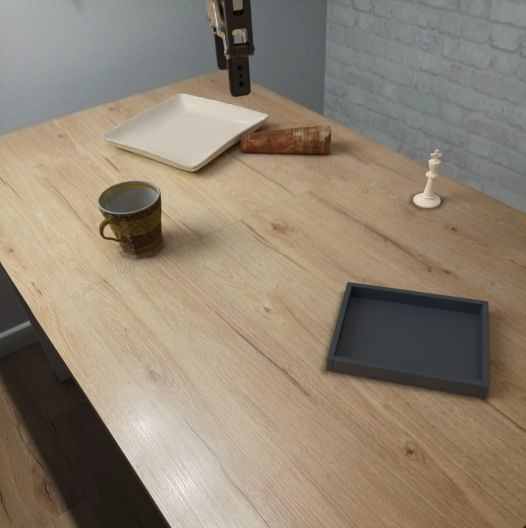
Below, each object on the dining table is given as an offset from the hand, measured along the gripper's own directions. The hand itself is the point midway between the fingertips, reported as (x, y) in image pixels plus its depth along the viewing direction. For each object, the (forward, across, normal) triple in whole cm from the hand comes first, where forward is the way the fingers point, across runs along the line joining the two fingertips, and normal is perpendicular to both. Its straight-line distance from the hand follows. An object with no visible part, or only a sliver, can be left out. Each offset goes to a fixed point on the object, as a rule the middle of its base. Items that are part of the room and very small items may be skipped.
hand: (233, 81), depth 59 cm
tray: (+30, -18, -18) cm, 40 cm away
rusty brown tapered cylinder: (+30, +40, -16) cm, 53 cm away
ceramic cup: (+30, +14, +17) cm, 37 cm away
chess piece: (+30, +14, -35) cm, 49 cm away
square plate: (+30, +53, +4) cm, 61 cm away
